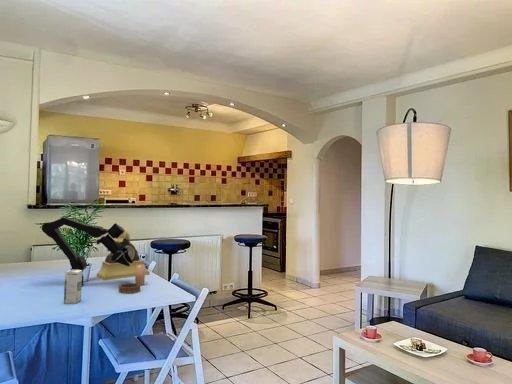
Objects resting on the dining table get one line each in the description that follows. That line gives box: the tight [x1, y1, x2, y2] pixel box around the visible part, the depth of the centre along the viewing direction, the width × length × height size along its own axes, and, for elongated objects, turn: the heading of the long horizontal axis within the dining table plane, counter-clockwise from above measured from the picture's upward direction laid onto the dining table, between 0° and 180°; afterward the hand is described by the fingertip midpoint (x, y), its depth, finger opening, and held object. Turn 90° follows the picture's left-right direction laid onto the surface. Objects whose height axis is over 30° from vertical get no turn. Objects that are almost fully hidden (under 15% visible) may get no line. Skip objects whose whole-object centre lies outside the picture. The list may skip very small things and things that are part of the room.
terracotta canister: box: [134, 264, 146, 287], centre depth 212 cm, size 5×5×11 cm
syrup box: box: [63, 269, 83, 305], centre depth 177 cm, size 6×6×14 cm
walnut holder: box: [118, 282, 141, 295], centre depth 198 cm, size 10×10×3 cm
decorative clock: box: [96, 226, 150, 281], centre depth 236 cm, size 28×13×30 cm, turn 131°
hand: (130, 264), depth 212 cm, fingers open, 9 cm apart
